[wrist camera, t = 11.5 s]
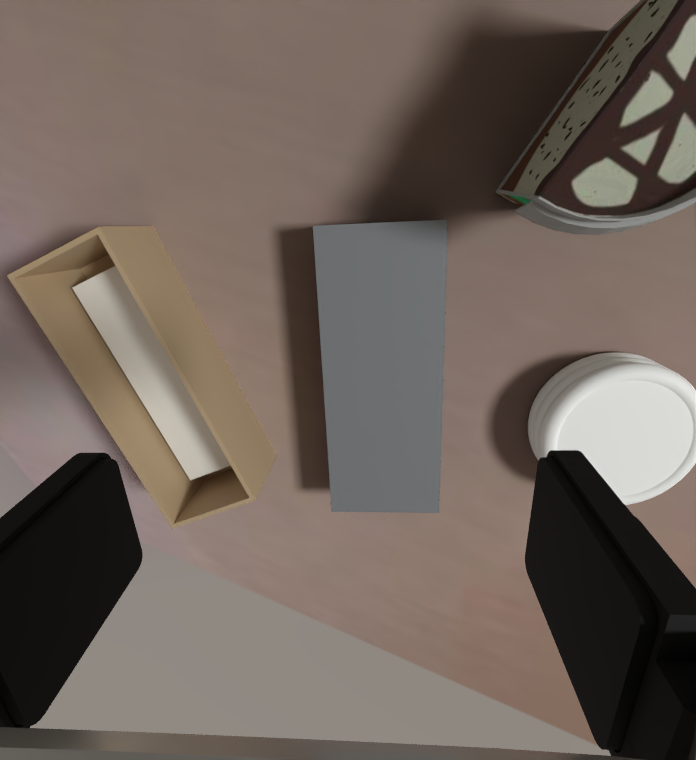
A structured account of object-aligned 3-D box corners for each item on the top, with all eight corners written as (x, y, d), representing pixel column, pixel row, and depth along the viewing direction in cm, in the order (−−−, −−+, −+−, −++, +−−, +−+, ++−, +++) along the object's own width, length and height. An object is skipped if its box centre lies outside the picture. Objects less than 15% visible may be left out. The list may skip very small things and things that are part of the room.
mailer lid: (320, 225, 28) (312, 225, 25) (441, 219, 27) (447, 219, 24) (336, 487, 34) (331, 511, 31) (434, 488, 33) (439, 512, 31)
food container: (557, 271, 28) (647, 296, 18) (478, 215, 27) (529, 210, 17) (717, 73, 24) (937, -27, 14) (629, 0, 23) (800, -156, 13)
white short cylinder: (658, 326, 28) (694, 339, 25) (690, 453, 31) (727, 480, 28) (506, 383, 30) (521, 403, 27) (548, 498, 33) (566, 528, 30)
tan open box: (77, 265, 30) (6, 275, 24) (154, 226, 29) (99, 226, 23) (206, 479, 35) (172, 528, 29) (277, 454, 34) (255, 500, 28)
